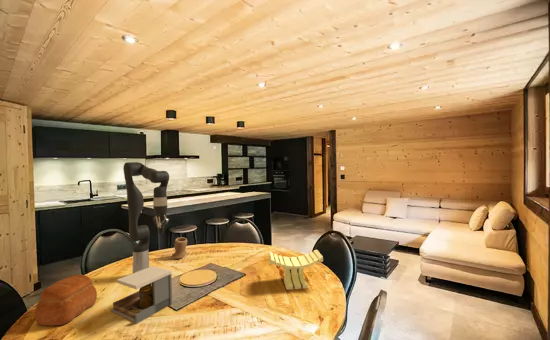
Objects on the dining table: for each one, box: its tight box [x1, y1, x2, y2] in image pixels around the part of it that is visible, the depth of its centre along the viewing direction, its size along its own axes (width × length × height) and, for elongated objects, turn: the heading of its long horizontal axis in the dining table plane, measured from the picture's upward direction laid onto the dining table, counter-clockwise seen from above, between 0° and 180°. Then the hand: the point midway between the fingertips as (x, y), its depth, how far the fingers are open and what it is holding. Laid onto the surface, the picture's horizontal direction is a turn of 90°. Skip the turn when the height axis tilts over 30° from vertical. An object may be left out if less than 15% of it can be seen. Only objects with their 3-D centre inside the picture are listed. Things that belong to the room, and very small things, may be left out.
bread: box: [34, 274, 98, 327], centre depth 128 cm, size 18×22×17 cm
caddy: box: [112, 290, 154, 318], centre depth 133 cm, size 20×16×4 cm
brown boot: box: [170, 236, 188, 260], centre depth 207 cm, size 15×12×15 cm
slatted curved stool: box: [268, 249, 324, 290], centre depth 157 cm, size 30×16×18 cm, turn 96°
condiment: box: [132, 283, 154, 313], centre depth 134 cm, size 7×8×12 cm
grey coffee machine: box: [110, 265, 173, 325], centre depth 132 cm, size 22×19×18 cm
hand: (161, 233), depth 154 cm, fingers closed
